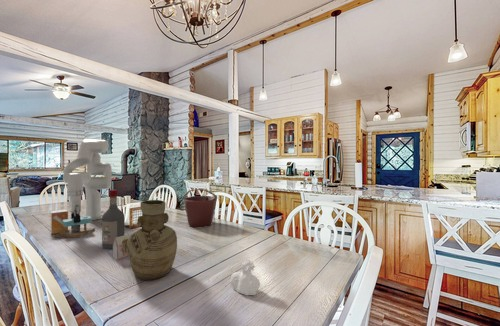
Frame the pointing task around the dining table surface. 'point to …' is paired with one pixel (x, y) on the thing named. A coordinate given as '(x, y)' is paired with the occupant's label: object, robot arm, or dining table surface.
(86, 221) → the keyed plate
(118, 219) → the liquor
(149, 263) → the ceramic vessel
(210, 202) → the bucket
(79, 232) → the post base
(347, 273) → the dining table surface
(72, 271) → the dining table surface
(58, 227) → the small box
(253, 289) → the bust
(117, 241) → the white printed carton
